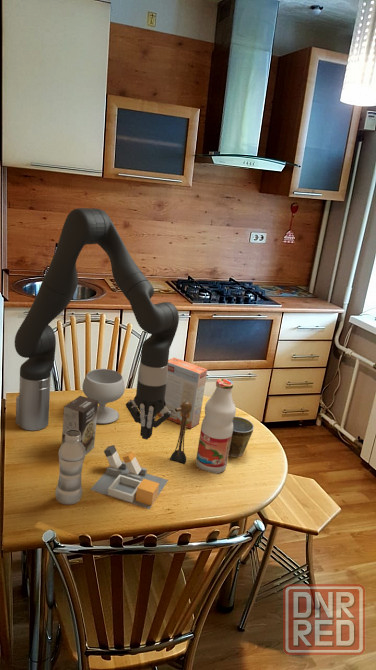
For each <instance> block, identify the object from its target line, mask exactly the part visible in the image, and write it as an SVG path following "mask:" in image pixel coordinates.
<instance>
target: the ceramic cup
mask: <svg viewBox="0 0 376 670" xmlns="http://www.w3.org/2000/svg"><path fill="white" fill-rule="evenodd" d="M254 429H255V427H254V424H253V423H252V422H251V421H250V420H249V419H247V418H244V417H241V416H235V417H234V419H233V433H232V438H231V444H230V450H229V455H228V457H232V458H233V457H234V458H240V457H241V456H243V455H244V453H245V451H246V449H247V446H248V443H249V441H250V439H251V438H252V437H251V436H252V434H253V432H254Z"/></svg>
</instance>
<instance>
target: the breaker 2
mask: <svg viewBox="0 0 376 670" xmlns="http://www.w3.org/2000/svg"><path fill="white" fill-rule="evenodd" d="M137 459H138V458H136V455H135V453H134V452H133V450H131V451H128V452H126V453H125V454H124V455H123V456H122V460H123V462H125V464H126V466H127V468H128V470H129V472H130V473H131V474H134V475H138V474H139V472H140V471H141V470H142V469H141V467H142V466H141V465H140V463H139V462H138V460H137Z"/></svg>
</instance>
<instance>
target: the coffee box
mask: <svg viewBox="0 0 376 670" xmlns="http://www.w3.org/2000/svg"><path fill="white" fill-rule="evenodd" d="M98 406H99V404H98V401H97V400H94V399H91V398H88V397H86V396H82V395H78V396H77V397H76V398H75V399H73V400H71V401H70V402H69V403H67V404H66V405H65V406H64V408H63V418H62V419H63V420H62V421H63V422H62V430H61V431H62V435H61V445H62V444H63V443H64V442H65V433H66V431H67V430H71V429H75V430H79V431H80V432H81V441H80V442H81V443H82V444H83V446H84V447H85V451H86V453H85V456H86V455H88V453H89V452H91V451H92V450H93V449H94V448H95V441H96V429H97V423H96V420H97V408H98Z"/></svg>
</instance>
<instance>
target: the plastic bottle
mask: <svg viewBox="0 0 376 670" xmlns="http://www.w3.org/2000/svg"><path fill="white" fill-rule="evenodd" d="M80 441H81V432H80V431H79V430H75V429H71V430H67V431H66V433H65V442H64V443H63V444H62V443H61V445H60V446H59V448H58V449H59V450H58V462H59V475H58V480H57V481H58V482H57V485H56V489H55V499H56V501H57V502H58V503H60V504H62V505H66V506H68V505H74V504H77V503H79V501H80V500H81V498H82V495H83V486H82V471H83V465H84V461H85V457H86V455H85V453H86V451H85V447H84V446H83V444H82V443H81V442H80Z"/></svg>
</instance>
